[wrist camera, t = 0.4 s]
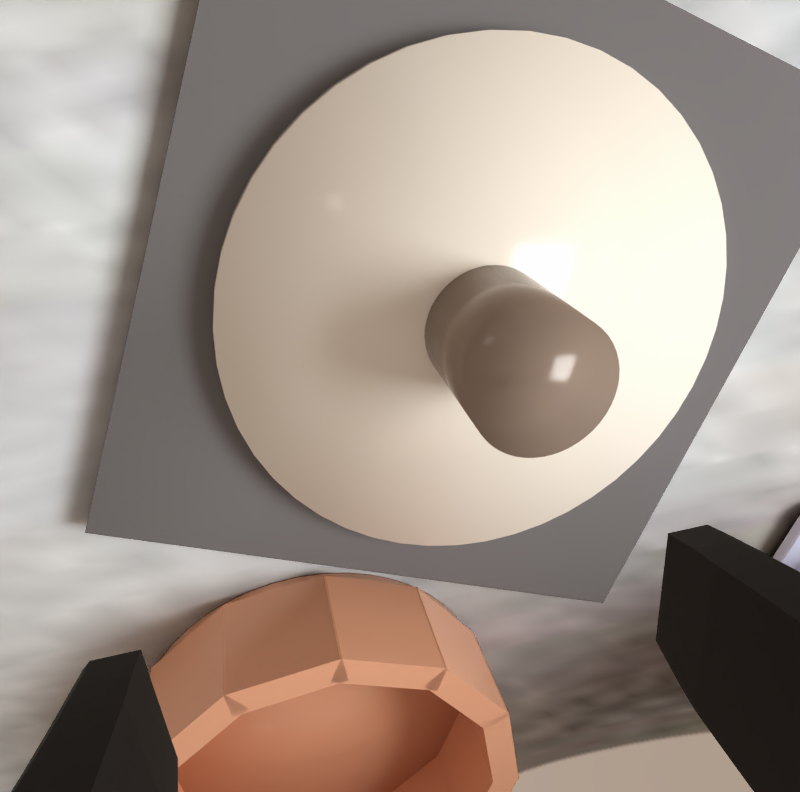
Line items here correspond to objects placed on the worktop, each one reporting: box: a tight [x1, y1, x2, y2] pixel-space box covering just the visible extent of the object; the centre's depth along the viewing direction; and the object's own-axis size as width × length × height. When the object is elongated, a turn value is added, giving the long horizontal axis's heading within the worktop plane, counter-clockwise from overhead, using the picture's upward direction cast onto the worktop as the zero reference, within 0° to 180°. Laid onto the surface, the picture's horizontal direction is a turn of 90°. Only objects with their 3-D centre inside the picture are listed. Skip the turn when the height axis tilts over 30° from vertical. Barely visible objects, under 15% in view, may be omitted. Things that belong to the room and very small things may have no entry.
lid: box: [213, 30, 727, 546], centre depth 16 cm, size 13×13×4 cm
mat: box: [85, 0, 800, 603], centre depth 18 cm, size 16×16×1 cm
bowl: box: [150, 573, 519, 792], centre depth 21 cm, size 11×11×4 cm
